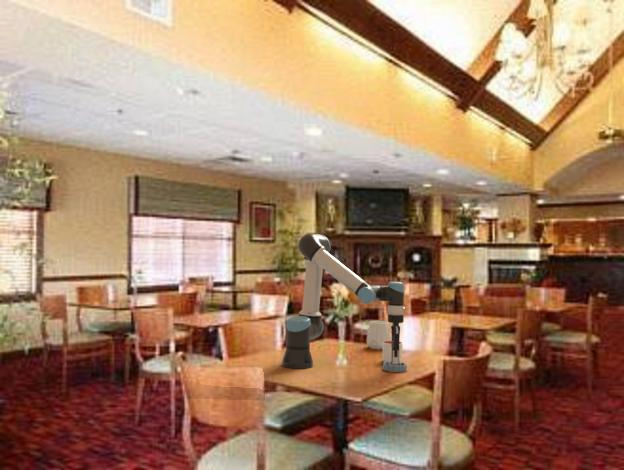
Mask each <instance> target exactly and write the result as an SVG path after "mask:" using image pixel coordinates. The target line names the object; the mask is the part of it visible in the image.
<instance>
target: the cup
mask: <svg viewBox="0 0 624 470" xmlns="http://www.w3.org/2000/svg"><path fill="white" fill-rule="evenodd" d="M391 345H392V340H391V341H384V342H383V349H382V357H381V359H382V362H383V363H384V362H389V361H390V362H391V360H392V346H391ZM402 361H403V342H401V341H399V362H402Z"/></svg>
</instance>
